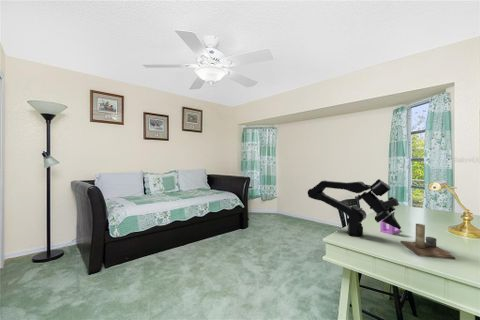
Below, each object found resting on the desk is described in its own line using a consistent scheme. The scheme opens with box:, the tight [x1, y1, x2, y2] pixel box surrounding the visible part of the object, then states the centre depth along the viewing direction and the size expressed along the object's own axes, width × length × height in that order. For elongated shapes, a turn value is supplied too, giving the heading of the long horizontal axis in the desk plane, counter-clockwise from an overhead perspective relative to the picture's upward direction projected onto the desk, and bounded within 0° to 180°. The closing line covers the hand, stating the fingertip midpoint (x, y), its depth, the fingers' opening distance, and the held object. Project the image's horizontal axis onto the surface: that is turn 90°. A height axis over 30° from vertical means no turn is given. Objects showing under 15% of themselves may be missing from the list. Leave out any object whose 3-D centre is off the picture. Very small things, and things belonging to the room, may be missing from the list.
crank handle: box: [414, 223, 437, 248], centre depth 98 cm, size 10×4×10 cm, turn 106°
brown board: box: [400, 240, 456, 260], centre depth 97 cm, size 13×15×1 cm
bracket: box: [380, 220, 401, 236], centre depth 122 cm, size 13×6×7 cm, turn 124°
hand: (400, 228), depth 102 cm, fingers closed
